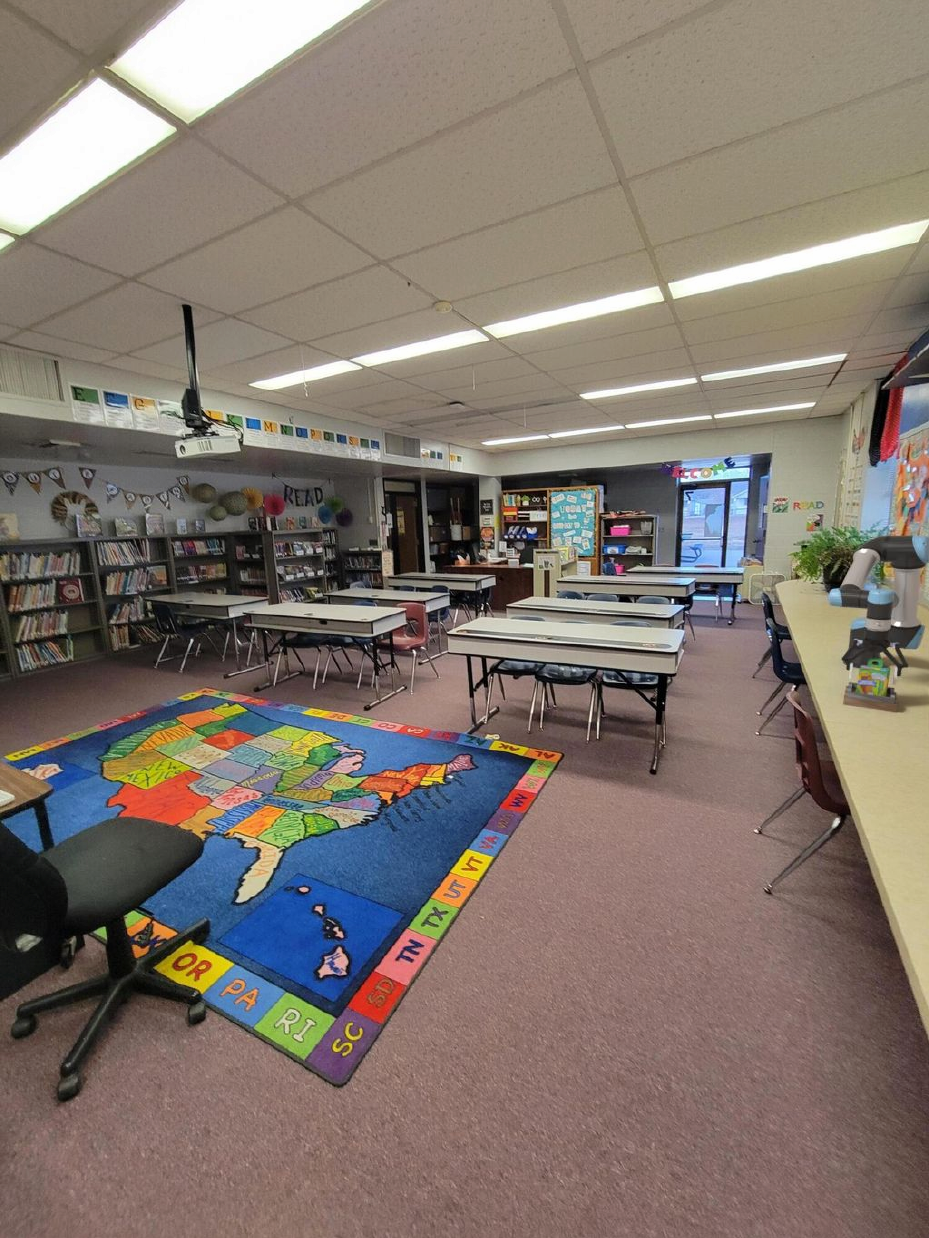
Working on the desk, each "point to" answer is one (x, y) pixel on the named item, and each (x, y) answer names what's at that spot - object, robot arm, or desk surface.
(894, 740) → the desk surface
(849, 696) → the square frame
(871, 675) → the chalk box
